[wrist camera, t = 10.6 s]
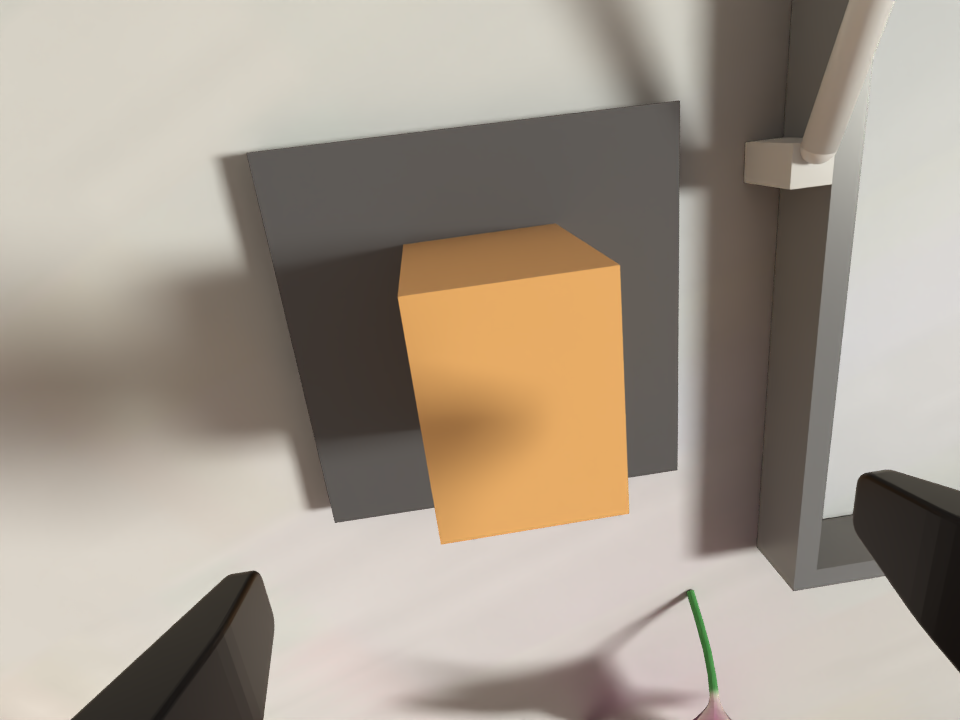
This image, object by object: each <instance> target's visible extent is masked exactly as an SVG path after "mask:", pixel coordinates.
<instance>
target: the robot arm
mask: <svg viewBox="0 0 960 720" xmlns="http://www.w3.org/2000/svg"><path fill="white" fill-rule="evenodd" d="M852 520H853V526H854V530H855V532H856V534H857V536H858V537H859V539H860V540H861V542H862V543H863V545H864V546H865V547H866V549H867V550H868V552H869V553H870V555H871V556H872V557H873V559H874V560H875V562H876V563H877V565H878V566H879V568H880V569H881V570H882V572H883V573H884V575H885V576H886V578H887V579H888V580H889V582H890V583H891V585H892V586H893V588H894V589H895V590H896V592H897V593H898V595H899V596H900V598H901V599H902V601H903V602H904V603H905V605H906V606H907V608H908V609H909V610H910V612H911V613H912V615H913V616H914V617H915V619H916V620H917V621H918V623H919V624H920V625H921V627H922V628H923V629H924V630H925V632H926V633H927V634H928V635H929V637H930V638H931V639H932V640H933V641H934V643H935V644H936V645H937V646H938V647H939V649H940V650H941V651H942V652H943V653H944V654H945V656H946V657H947V658H948V659H949V660H950V662H951V663H952V664H953V665H954V666H955V668H956V669H957V670H958V671H959V672H960V491H959V490H956V489H952V488H949V487H946V486H942V485H939V484H936V483H933V482H929V481H926V480H923V479H919V478H916V477H913V476H910V475H906V474H903V473H900V472H897V471H893V470H881V471H875V472H869V473H864V474H863V475H861V476H860V477H859V479H858V481H857V487H856V494H855V502H854V509H853V517H852ZM273 637H274V617H273V612H272V609H271V606H270V602H269V599H268V596H267V593H266V589H265V586H264V583H263V580H262V577H261V576H260V574H259V573H258V572H256V571H248V572H242V573H235V574H230V575H228V576H227V577H225V578H224V579H223V580H222V581H221V582H220V583H219V584H217V585H216V586H215V587H214V588H213V589H212V590H211V591H210V592H209V593H208V594H207V595H206V596H204V597H203V598H202V599H201V600H200V601H199V602H198V603H197V604H196V605H195V606H194V607H192V608H191V609H190V610H189V611H188V612H187V613H186V614H185V615H184V616H183V617H182V618H181V619H179V620H178V621H177V622H176V623H175V624H174V625H173V626H172V627H171V628H170V629H169V630H168V631H166V632H165V633H164V634H163V635H162V636H161V637H160V638H159V639H158V640H157V641H156V642H154V643H153V644H152V645H151V646H150V647H149V648H148V649H147V650H146V651H145V652H144V653H143V654H141V655H140V656H139V657H138V658H137V659H136V660H135V661H134V662H133V663H132V664H131V665H130V666H128V667H127V668H126V669H125V670H124V671H123V672H122V673H121V674H120V675H119V676H118V677H117V678H115V679H114V680H113V681H112V682H111V683H110V684H109V685H108V686H107V687H106V688H105V689H103V690H102V691H101V692H100V693H99V694H98V695H97V696H96V697H95V698H94V699H93V700H92V701H90V702H89V703H88V704H87V705H86V706H85V707H84V708H83V709H82V710H81V711H80V712H79V713H77V714H76V715H75V716H74V717H73V718H72V719H71V720H263V718H264V710H265V702H266V694H267V686H268V677H269V669H270V661H271V653H272V645H273Z"/></svg>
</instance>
